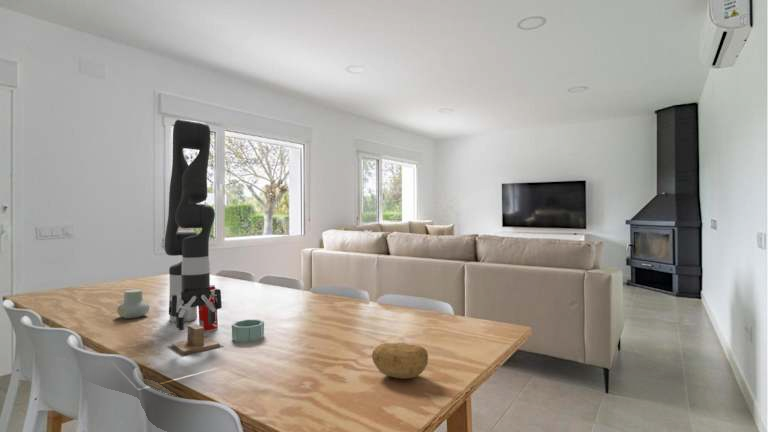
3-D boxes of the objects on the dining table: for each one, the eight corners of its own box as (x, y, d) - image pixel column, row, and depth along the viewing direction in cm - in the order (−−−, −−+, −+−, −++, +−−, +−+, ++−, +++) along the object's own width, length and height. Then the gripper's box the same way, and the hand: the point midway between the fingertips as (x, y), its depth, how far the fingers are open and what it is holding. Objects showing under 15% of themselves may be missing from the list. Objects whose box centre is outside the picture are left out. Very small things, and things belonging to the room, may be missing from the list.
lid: (171, 346, 121) (171, 326, 121) (206, 339, 128) (205, 320, 128) (184, 355, 114) (183, 333, 113) (219, 346, 121) (219, 326, 121)
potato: (379, 366, 107) (379, 335, 107) (432, 373, 102) (432, 341, 102) (365, 380, 97) (365, 347, 97) (422, 389, 93) (422, 354, 93)
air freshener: (152, 316, 157) (151, 290, 157) (129, 321, 150) (129, 294, 150) (137, 312, 163) (137, 287, 163) (114, 317, 156) (114, 291, 156)
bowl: (228, 339, 129) (228, 323, 129) (254, 333, 136) (254, 318, 135) (241, 345, 123) (241, 329, 123) (268, 339, 129) (268, 323, 129)
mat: (166, 348, 121) (166, 346, 121) (207, 339, 129) (207, 337, 129) (181, 358, 112) (181, 356, 112) (224, 348, 121) (224, 346, 121)
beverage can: (211, 333, 135) (210, 288, 135) (193, 332, 137) (193, 287, 137) (221, 328, 141) (221, 284, 141) (204, 327, 143) (204, 284, 142)
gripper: (214, 268, 128) (214, 320, 128) (165, 273, 118) (165, 329, 118) (225, 270, 123) (225, 324, 123) (174, 275, 113) (174, 334, 113)
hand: (196, 326), depth 120 cm, fingers open, 8 cm apart
